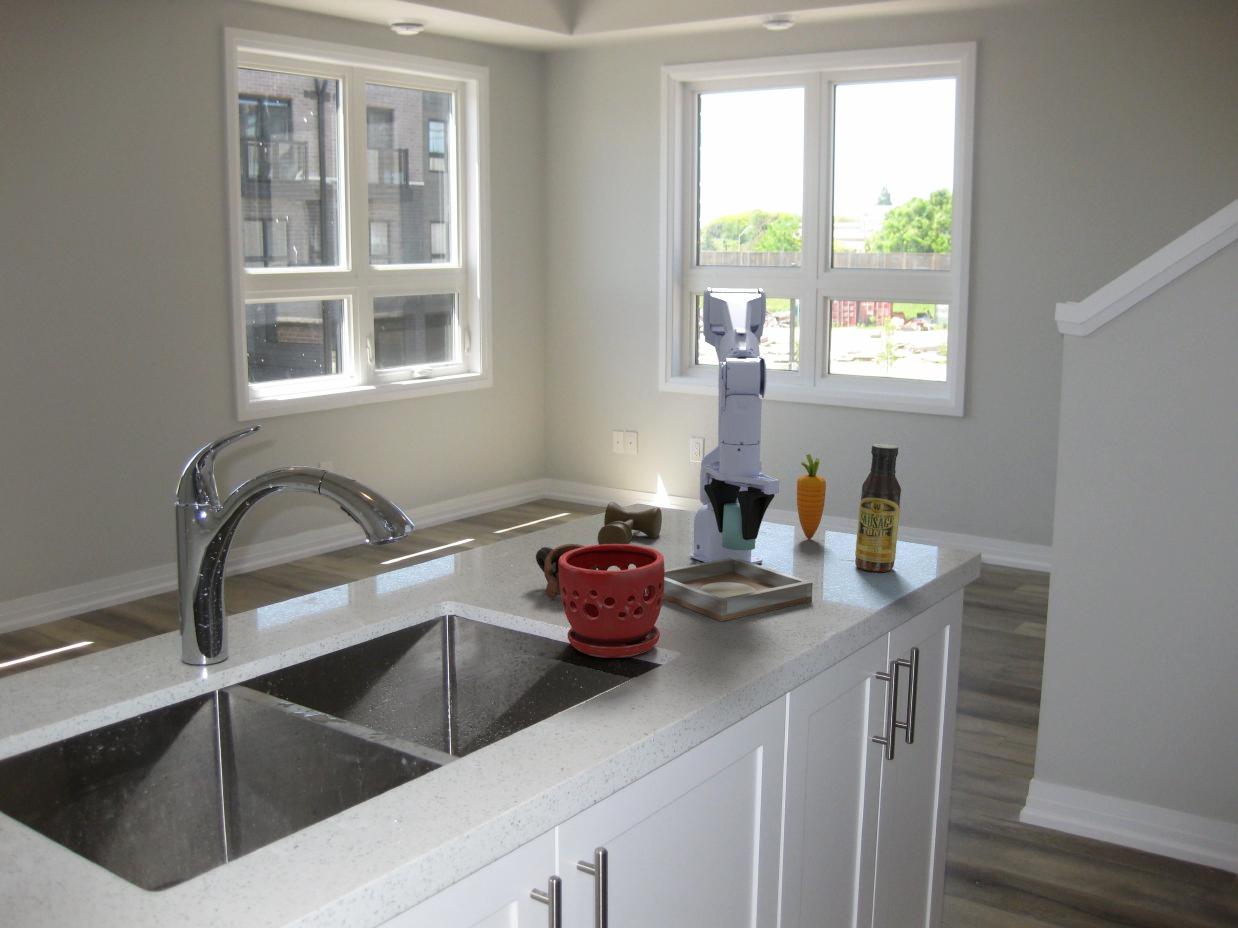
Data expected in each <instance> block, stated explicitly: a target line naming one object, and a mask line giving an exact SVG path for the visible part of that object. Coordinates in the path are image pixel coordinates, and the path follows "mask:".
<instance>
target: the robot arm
mask: <svg viewBox="0 0 1238 928" xmlns="http://www.w3.org/2000/svg"><path fill="white" fill-rule="evenodd" d="M702 302H703V303H702V324H703V327H702V328H703V330H702V331H703V336H704V342H706V343H707V344H709V345H711V346H713V347H714V348H715V352H716V356H717V359H718V382H717V383H718V384H717V385H718V403H717V404H718V406H717V407H718V408H717V409H718V410H717V412H718V417H717V418H718V419H717V420H718V421H717V422H718V424H717V426H718V427H717V428H718V430H717V435H718V436H717V446H716V447H715V448H713V449H712V450H710V451H708V452H707V453H706V454H705V455H703V457H702V459H701V461H700V462H701V464H700V465H701V466H700V474H699V477H700V478H699V502H701V504H702V505H701V506H700V507H699V509H698V510H697V511H696V513H695V516H694V522H693V523H694V524H693V525H694V526H693V553H690V554H689V557H690V558H692V559H695V560H697V561H701V562H702V563H705V562H711V561H716V560H722V559H727V558H733V557H735V558H739V559H742V560H745V561H748V562H751V563H754V564H757V565H758V564H762V563H763V559H762V558H759V557H756V556H752V550H732V549H727V548H724V547H722V533H723V515H724V504H727V503H739V505H740V509H741V515H742V535H743V539H744V540H751V539H757V538H758V536H759V533H760V528H761V524H762V522H763V518H764V516H765V514H766V512H767V510H768V507H769V505H770V504H771V502H772V501H773V499H774V498H775V494H780V479H777V478H774V477H771V476H769V475H766V474H765V473H763V471H762V460H761V438H762V436H761V435H762V434H761V433H762V406H763V405H762V404H763V403H762V402H763V401H762V399H764V397H765V394H766V390H767V364H766V360H765V357H764V356H762V355H761V353H760V345H759V343H761V337H762V336H763V332H764V325H765V324H766V323H765V322H766V316H767V315H766V314H767V312H766V311H767V295H766V291H765V290H764V289H763V288H762V287H758V288H711V287H710V286H709V287H706V288H705V290H703V300H702ZM760 396H761V398H762V399H761V398H760Z"/></svg>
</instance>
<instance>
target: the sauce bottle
mask: <svg viewBox="0 0 1238 928" xmlns="http://www.w3.org/2000/svg"><path fill="white" fill-rule="evenodd" d="M870 454H871V455H872V456H871V466H870V467H871V468H870V472H869V474H868V475H867V477H866V479H865V480H864V482H863V483H862V486H861V494H860V496H861V497H860V502H859V508H858V522H857V529H856V530H857V533H856V543H855V551H854V552H855V559H854V560H855V563H854V564H855V566H856V567H857V568H859V569H861V570H864V571H867V572H879V573H880V572H881V573H886V572H889V571H891V570H893V569H894V566H895V560H896V553H897V544H898V543H897V540H898V531H899V519H900V511H901V510H900V509H901V506H900V505H901V504H900V503H901V495H902V494H901V493H902V488H901V486H900V483H899V481H898V479H897V477H896V471H897V470H896V465H897V458H898V455H899V446H897V445H894V444H886V443H874V444H872V446H871V453H870Z"/></svg>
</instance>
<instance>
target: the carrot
mask: <svg viewBox="0 0 1238 928" xmlns="http://www.w3.org/2000/svg"><path fill="white" fill-rule="evenodd" d="M806 459H807V462H808V463H806V462H805V461H801V462H800V465H801V466H803V467H804V468H805V470H806V472H807V474H805V475H802V476H800V477H798V479H797V481H796V505H797V513H798V519H799V523H800V527H801V529H802V531H803V533H804V536H805V537H806V539H807V540H811V539H812V538H813V537H814V536H815V534H816V532H817V530H818V528H819V527H820V524H821V521H822V517H823V513H824V508H825V501H826V489H827V488H826V487H827V482H826V479H825V478H824V477H822V476H820V475H818V474H817V472H818V469H819V467H820V466H819V465H820V459H819V458H817V457H816V458H814V460H813V457H812V454H810V453H807V454H806Z"/></svg>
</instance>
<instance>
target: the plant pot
mask: <svg viewBox="0 0 1238 928" xmlns="http://www.w3.org/2000/svg"><path fill="white" fill-rule="evenodd" d="M630 565H634V566H635V567H634V568H629V566H630ZM593 566H596V567H597V568H598V569H597V570H590V568H591V567H593ZM611 567H616V568H618V570H608V569H610V568H611ZM665 570H666V569H665V558H664V555H663V554H662V553H661V552H660V551H658V550H656V549H653V548H651V547H648V546H642V545H637V544H629V543H628V544H600V545H599V544H593V545H586V546H585V547H581V548H577V549H574V550H571V551H569V552H566V553H564V554H563V555H562V556H561V557H560V558H559V586H560V593H561V595H560V598H561V603H562V608H563V610H564V614H565V616H566V619H567V621H568V624H569V625H570V629H568V631H567V640H568V641H569V643H570V645H571V646H572V647H573V648H574V649H575V650H577V651H579V652H581V653H582V654H585V655H588V656H591V657H594V658H595V657H596V658H604V659H605V658H608V659H617V658H623V659H629V658H631V657H635V656H637V655H641V654H643V653H646V652H648V651H650V650H651V649H652V648H654V646H656V644H657V643H658V641H659V639H660V636H661V632H660V630H659V628H658V626H656V622H657V620H658V618H659V616H660V613H661V609H662V606H663V599H664V598H663V593H664V576H665ZM646 588H648V590H649V593H648V592H646ZM647 593H648V594H647Z"/></svg>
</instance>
